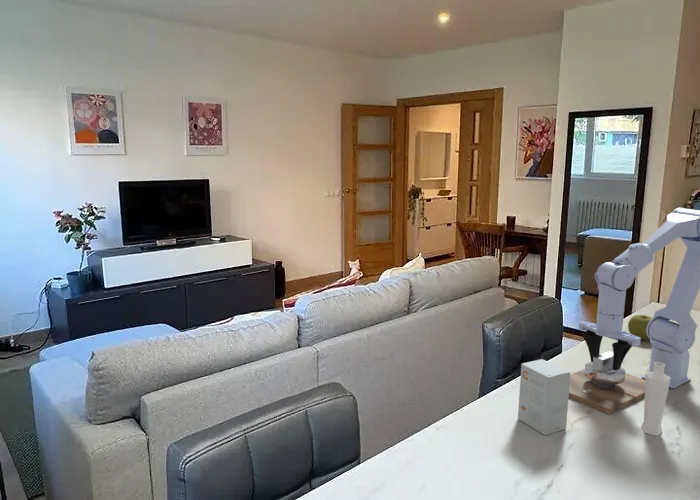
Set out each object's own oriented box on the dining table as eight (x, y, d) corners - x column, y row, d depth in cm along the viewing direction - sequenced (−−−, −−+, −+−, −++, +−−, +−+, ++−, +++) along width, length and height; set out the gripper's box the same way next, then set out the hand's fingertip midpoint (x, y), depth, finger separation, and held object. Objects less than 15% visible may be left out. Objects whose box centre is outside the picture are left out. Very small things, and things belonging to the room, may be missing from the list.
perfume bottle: (667, 437, 110) (676, 369, 107) (644, 435, 110) (652, 367, 108) (659, 426, 114) (668, 360, 111) (637, 424, 115) (645, 358, 112)
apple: (660, 343, 162) (663, 320, 161) (634, 343, 162) (636, 320, 161) (647, 334, 169) (649, 313, 168) (622, 334, 170) (624, 313, 168)
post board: (597, 367, 144) (598, 357, 144) (659, 389, 131) (660, 378, 130) (547, 388, 132) (548, 376, 131) (609, 414, 119) (611, 402, 118)
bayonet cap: (597, 366, 137) (599, 345, 136) (631, 378, 130) (634, 357, 129) (572, 376, 131) (574, 355, 130) (607, 389, 124) (609, 367, 123)
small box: (566, 429, 113) (571, 371, 110) (544, 436, 110) (549, 377, 108) (538, 412, 120) (542, 358, 118) (516, 418, 117) (520, 363, 115)
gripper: (573, 307, 131) (569, 359, 134) (631, 323, 120) (625, 379, 122) (589, 303, 135) (585, 353, 138) (647, 317, 124) (641, 372, 126)
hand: (605, 365), depth 130 cm, fingers open, 5 cm apart
